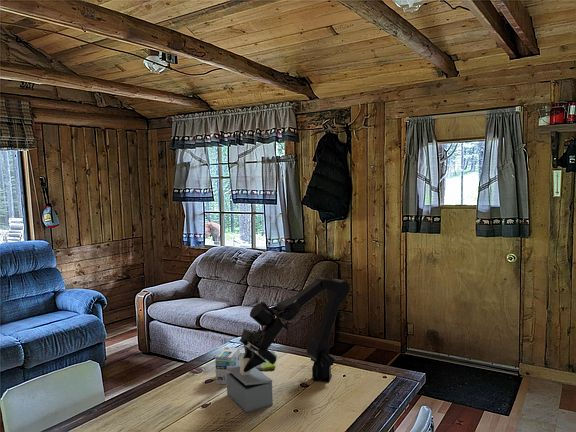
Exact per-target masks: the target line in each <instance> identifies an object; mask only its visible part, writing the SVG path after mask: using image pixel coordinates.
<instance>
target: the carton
mask: <svg viewBox="0 0 576 432" xmlns="http://www.w3.org/2000/svg"><path fill="white" fill-rule="evenodd" d="M226 376H227V384H226V396H227V397H228V398H229V399H231V400H232V401H233V402H234V403H235V404H236V405H237V407H239V408H240V409H241V410H242V411H243V412H244V413H245V414H249V413H253V412H255V411H256V412H257V411H258V410H262V409H265V408H268V407H272V406H273V402H274V401H273V399H274V398H273V382H272V383H264V384H254V385H245V384H244V383H242V382H241V381H240V380H239V379H238V378H236V377H235V376H234V375H233V374H232V373H227V374H226Z"/></svg>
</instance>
